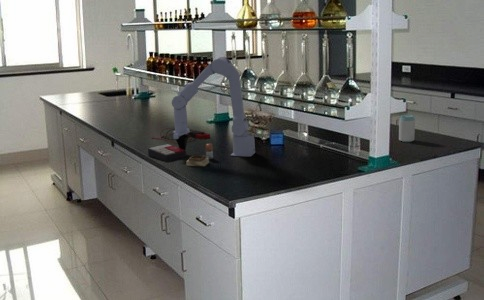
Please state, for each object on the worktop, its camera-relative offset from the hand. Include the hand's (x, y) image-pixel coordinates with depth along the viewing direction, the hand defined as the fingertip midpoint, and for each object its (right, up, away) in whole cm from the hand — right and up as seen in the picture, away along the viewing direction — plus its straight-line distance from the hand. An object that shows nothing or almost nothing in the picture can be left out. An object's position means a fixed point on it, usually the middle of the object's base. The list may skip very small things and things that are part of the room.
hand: (182, 151), depth 257 cm
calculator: (-7, -3, -2) cm, 8 cm away
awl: (+13, -3, -9) cm, 16 cm away
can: (+105, +5, +8) cm, 105 cm away
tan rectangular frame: (+8, -6, -18) cm, 20 cm away
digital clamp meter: (-5, +6, +34) cm, 35 cm away
